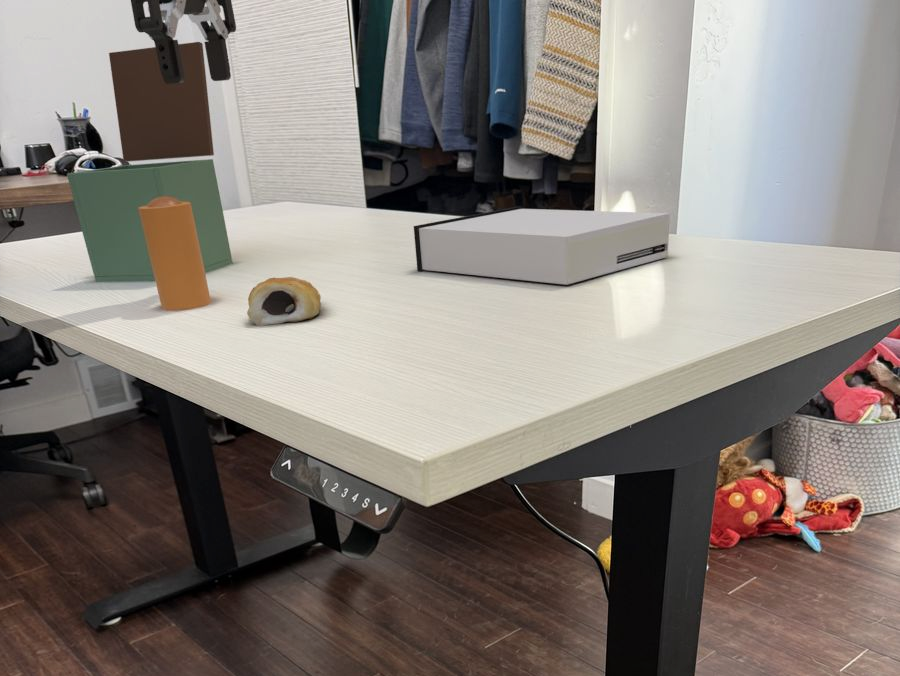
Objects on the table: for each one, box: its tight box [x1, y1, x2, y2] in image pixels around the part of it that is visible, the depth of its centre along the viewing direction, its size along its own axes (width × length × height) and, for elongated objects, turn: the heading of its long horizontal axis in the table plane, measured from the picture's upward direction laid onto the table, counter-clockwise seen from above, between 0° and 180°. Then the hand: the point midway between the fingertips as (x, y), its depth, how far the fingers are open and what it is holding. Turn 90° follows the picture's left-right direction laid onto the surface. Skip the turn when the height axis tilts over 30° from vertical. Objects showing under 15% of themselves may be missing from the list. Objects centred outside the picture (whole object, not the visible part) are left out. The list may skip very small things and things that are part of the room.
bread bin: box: [66, 158, 234, 283], centre depth 111 cm, size 12×14×13 cm
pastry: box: [246, 276, 322, 326], centre depth 83 cm, size 9×7×4 cm
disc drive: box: [413, 205, 671, 285], centre depth 96 cm, size 18×22×5 cm
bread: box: [138, 196, 212, 312], centre depth 90 cm, size 5×5×11 cm
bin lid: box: [108, 41, 215, 163], centre depth 110 cm, size 12×14×1 cm
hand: (198, 81), depth 92 cm, fingers open, 8 cm apart
